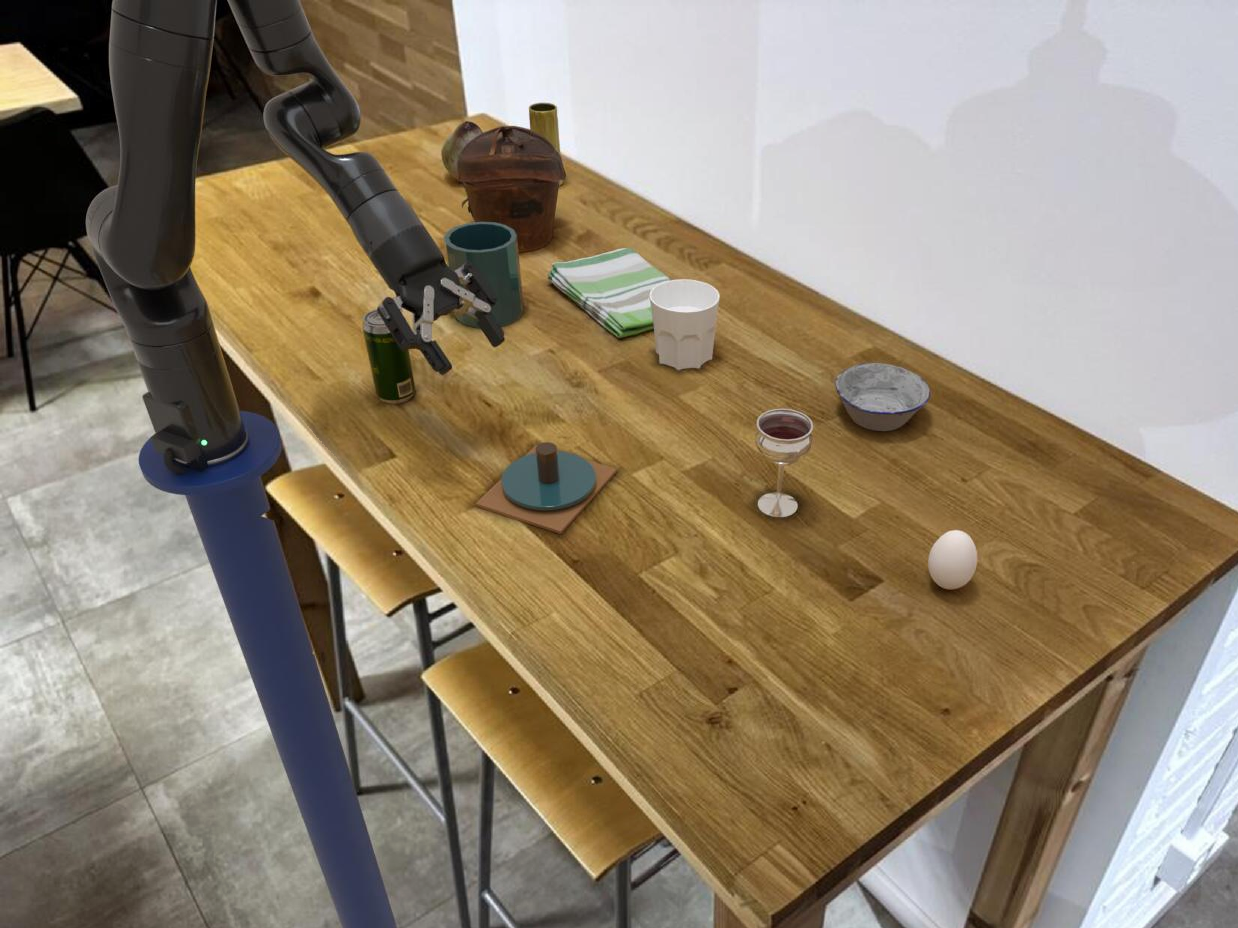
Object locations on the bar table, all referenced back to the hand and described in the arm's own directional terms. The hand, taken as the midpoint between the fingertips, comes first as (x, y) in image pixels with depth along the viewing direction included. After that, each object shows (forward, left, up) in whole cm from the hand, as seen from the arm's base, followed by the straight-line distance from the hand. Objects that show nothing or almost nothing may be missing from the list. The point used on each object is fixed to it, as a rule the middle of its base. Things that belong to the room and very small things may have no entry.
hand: (474, 357), depth 129 cm
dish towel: (+47, +5, -15) cm, 50 cm away
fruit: (+76, +55, -15) cm, 95 cm away
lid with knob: (-2, -10, -14) cm, 17 cm away
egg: (+3, -60, -15) cm, 62 cm away
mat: (-2, -10, -15) cm, 18 cm away
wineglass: (+8, -37, -15) cm, 41 cm away
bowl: (+33, -42, -15) cm, 56 cm away
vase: (+82, +41, -15) cm, 93 cm away
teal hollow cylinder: (+33, +22, -15) cm, 42 cm away
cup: (+35, -11, -15) cm, 40 cm away
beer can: (+7, +20, -15) cm, 26 cm away
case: (+58, +33, -15) cm, 68 cm away
